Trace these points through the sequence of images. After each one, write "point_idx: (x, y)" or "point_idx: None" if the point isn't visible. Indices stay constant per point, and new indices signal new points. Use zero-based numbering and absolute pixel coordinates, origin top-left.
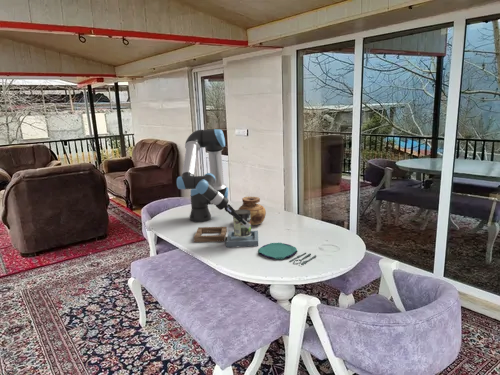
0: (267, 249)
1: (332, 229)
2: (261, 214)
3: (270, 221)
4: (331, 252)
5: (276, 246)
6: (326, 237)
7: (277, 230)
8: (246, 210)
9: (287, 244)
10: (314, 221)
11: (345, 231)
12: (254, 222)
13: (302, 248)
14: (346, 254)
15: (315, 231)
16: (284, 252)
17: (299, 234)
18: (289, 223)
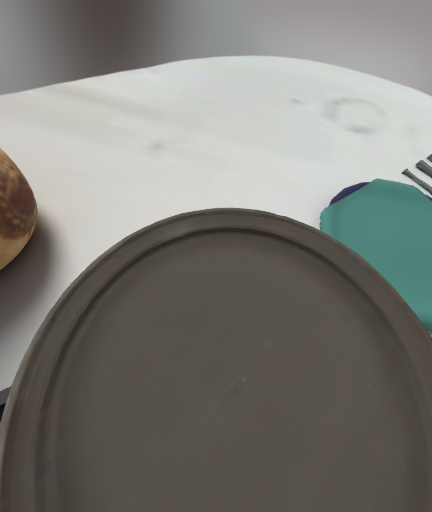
0: (384, 276)
1: (215, 69)
2: (7, 164)
3: (25, 169)
4: (390, 120)
5: (351, 232)
6: (272, 95)
7: (148, 177)
8: (164, 254)
9: (343, 191)
10: (127, 76)
11: (241, 57)
12: (28, 232)
13: (355, 165)
14: (403, 102)
15: (214, 98)
16: (412, 224)
17: (223, 135)
18: (98, 127)
